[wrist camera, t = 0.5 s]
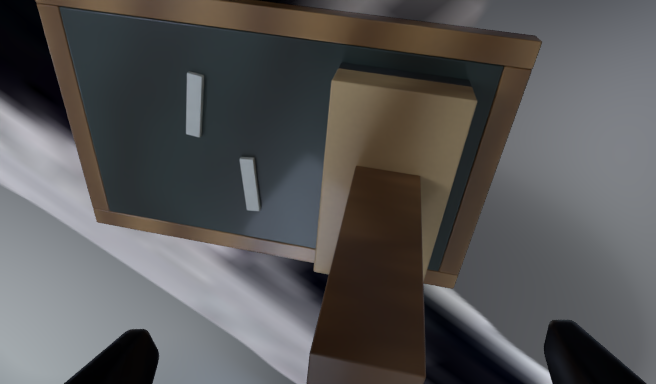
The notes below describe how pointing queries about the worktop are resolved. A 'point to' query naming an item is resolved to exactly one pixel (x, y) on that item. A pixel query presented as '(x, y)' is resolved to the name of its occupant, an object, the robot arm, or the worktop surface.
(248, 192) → the chalk stick
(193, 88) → the light grey rectangular bar
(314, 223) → the chalkboard
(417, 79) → the eraser
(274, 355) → the worktop surface
